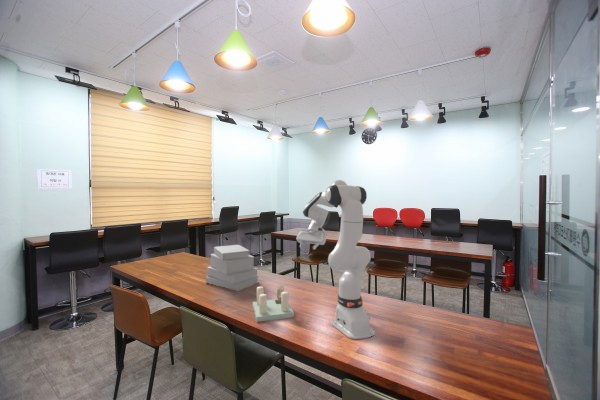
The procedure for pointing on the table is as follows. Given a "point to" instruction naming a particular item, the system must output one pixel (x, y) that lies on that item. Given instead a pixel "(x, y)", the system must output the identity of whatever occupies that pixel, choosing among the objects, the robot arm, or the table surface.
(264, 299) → the stool seat
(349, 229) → the robot arm
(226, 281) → the book stack
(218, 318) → the table surface
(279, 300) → the loose leg
